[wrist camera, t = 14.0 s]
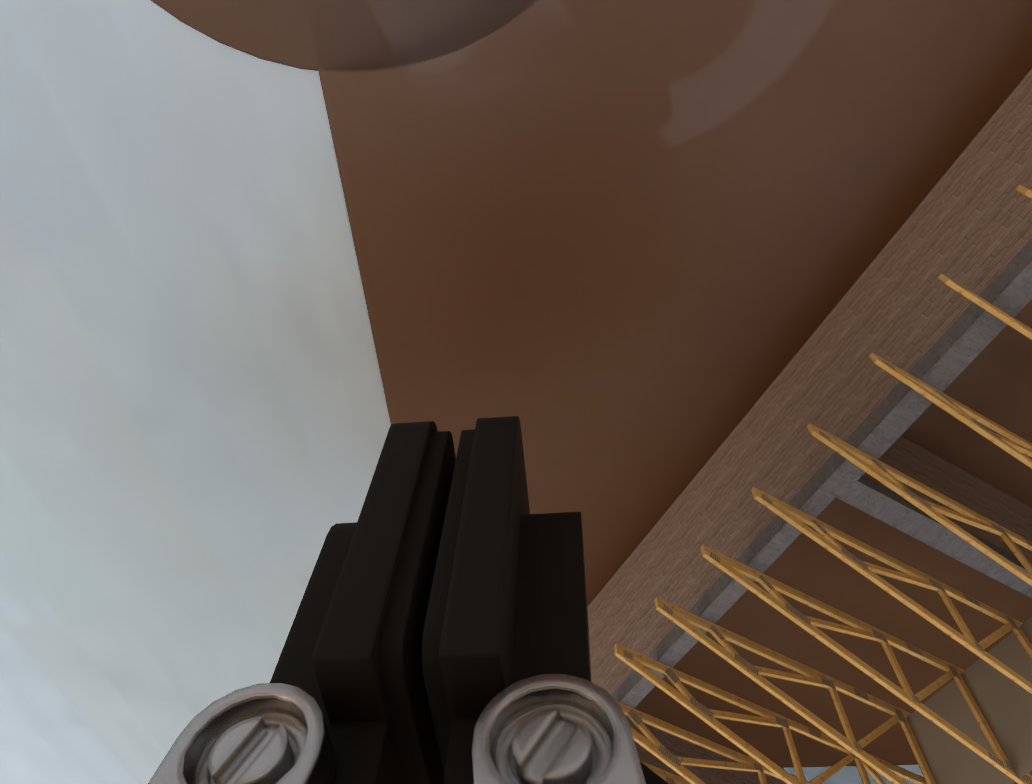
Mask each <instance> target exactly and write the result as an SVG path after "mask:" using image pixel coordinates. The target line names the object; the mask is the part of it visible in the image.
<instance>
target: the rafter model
mask: <svg viewBox="0 0 1032 784" xmlns="http://www.w3.org/2000/svg"><path fill="white" fill-rule="evenodd" d="M1031 299H1032V69H1031V70H1030V71H1029V73H1028V74H1027V75H1026V76H1025V77H1024V79H1023V80H1022V81H1021V82H1020V83H1019V85H1018V86H1017V87H1016V88H1015V90H1014V91H1013V92H1012V93H1011V94H1010V96H1009V97H1008V98H1007V99H1006V100H1005V102H1004V103H1003V104H1002V105H1001V106H1000V108H999V109H998V110H997V111H996V113H995V114H994V115H993V116H992V117H991V119H990V120H989V121H988V122H987V123H986V125H985V126H984V127H983V128H982V130H981V131H980V132H979V133H978V134H977V136H976V137H975V138H974V139H973V140H972V142H971V143H970V144H969V145H968V146H967V148H966V149H965V150H964V151H963V153H962V154H961V155H960V156H959V157H958V159H957V160H956V161H955V162H954V163H953V165H952V166H951V167H950V168H949V170H948V171H947V172H946V173H945V174H944V176H943V177H942V178H941V179H940V180H939V182H938V183H937V184H936V185H935V186H934V188H933V189H932V190H931V191H930V193H929V194H928V195H927V196H926V197H925V199H924V200H923V201H922V202H921V203H920V205H919V206H918V207H917V208H916V209H915V211H914V212H913V213H912V214H911V216H910V217H909V218H908V219H907V220H906V222H905V223H904V224H903V225H902V226H901V228H900V229H899V230H898V231H897V233H896V234H895V235H894V236H893V237H892V239H891V240H890V241H889V242H888V243H887V245H886V246H885V247H884V248H883V249H882V251H881V252H880V253H879V254H878V256H877V257H876V258H875V259H874V260H873V262H872V263H871V264H870V265H869V266H868V268H867V269H866V270H865V271H864V273H863V274H862V275H861V276H860V277H859V279H858V280H857V281H856V282H855V283H854V285H853V286H852V287H851V288H850V289H849V291H848V292H847V293H846V294H845V296H844V297H843V298H842V299H841V300H840V302H839V303H838V304H837V305H836V306H835V308H834V309H833V310H832V311H831V312H830V314H829V315H828V316H827V317H826V319H825V320H824V321H823V322H822V323H821V325H820V326H819V327H818V328H817V329H816V331H815V332H814V333H813V334H812V336H811V337H810V338H809V339H808V340H807V342H806V343H805V344H804V345H803V346H802V348H801V349H800V350H799V351H798V352H797V354H796V355H795V356H794V357H793V359H792V360H791V361H790V362H789V363H788V365H787V366H786V367H785V368H784V369H783V371H782V372H781V373H780V374H779V376H778V377H777V378H776V379H775V380H774V382H773V383H772V384H771V385H770V386H769V388H768V389H767V390H766V391H765V392H764V394H763V395H762V396H761V397H760V399H759V400H758V401H757V402H756V403H755V405H754V406H753V407H752V408H751V409H750V411H749V412H748V413H747V414H746V416H745V417H744V418H743V419H742V420H741V422H740V423H739V424H738V425H737V426H736V428H735V429H734V430H733V431H732V432H731V434H730V435H729V436H728V437H727V439H726V440H725V441H724V442H723V443H722V445H721V446H720V447H719V448H718V449H717V451H716V452H715V453H714V454H713V455H712V457H711V458H710V459H709V460H708V462H707V463H706V464H705V465H704V466H703V468H702V469H701V470H700V471H699V472H698V474H697V475H696V476H695V477H694V479H693V480H692V481H691V482H690V483H689V485H688V486H687V487H686V488H685V489H684V491H683V492H682V493H681V494H680V495H679V497H678V498H677V499H676V500H675V502H674V503H673V504H672V505H671V506H670V508H669V509H668V510H667V511H666V512H665V514H664V515H663V516H662V517H661V519H660V520H659V521H658V522H657V523H656V525H655V526H654V527H653V528H652V529H651V531H650V532H649V533H648V534H647V535H646V537H645V538H644V539H643V540H642V542H641V543H640V544H639V545H638V546H637V548H636V549H635V550H634V551H633V552H632V554H631V555H630V556H629V557H628V558H627V560H626V561H625V562H624V563H623V565H622V566H621V567H620V568H619V569H618V571H617V572H616V573H615V574H614V575H613V577H612V578H611V579H610V580H609V582H608V583H607V584H606V585H605V586H604V588H603V589H602V590H601V591H600V592H599V594H598V595H597V596H596V597H595V598H594V600H593V601H592V602H591V603H590V605H589V606H588V607H587V608H588V626H589V645H590V664H591V682H592V683H594V684H596V685H598V686H599V687H601V688H603V689H605V690H606V691H607V692H608V693H609V694H610V695H611V696H612V697H613V698H614V699H615V700H616V701H617V702H618V703H619V704H620V706H621V708H622V710H623V712H624V714H625V716H626V718H627V720H628V722H629V724H630V728H631V731H632V735H633V738H634V742H635V746H636V749H637V753H638V757H639V760H640V761H641V762H642V763H643V764H644V765H646V766H647V767H648V768H650V769H651V770H652V771H653V772H655V773H656V774H657V775H658V776H660V777H661V778H662V779H663V780H665V781H666V782H667V783H668V784H820V783H822V782H823V781H824V780H826V779H827V778H829V777H830V776H832V775H833V774H834V773H836V772H837V771H839V770H840V769H841V768H843V767H844V766H846V765H847V764H849V763H850V762H851V761H853V760H855V762H856V765H857V768H858V770H859V773H860V776H861V778H862V781H863V784H871V783H870V781H869V778H868V776H867V773H866V770H867V772H868V773H869V774H870V775H871V776H872V777H873V778H874V780H875V781H876V782H877V783H878V784H886V783H885V782H884V781H883V780H882V779H881V777H880V776H879V775H878V774H877V773H876V772H875V771H874V770H876V771H877V772H879V773H880V774H881V775H883V776H884V777H885V778H887V779H888V780H889V781H891V782H892V783H894V784H909V783H907V782H906V781H905V780H903V779H902V778H901V777H903V778H905V779H907V780H909V781H912V782H914V783H916V784H1032V617H1030V618H1029V619H1028V620H1027V621H1025V622H1024V623H1022V622H1020V621H1018V620H1016V619H1014V618H1012V617H1010V616H1008V615H1006V614H1004V613H1002V612H1000V611H998V610H996V609H994V608H992V607H990V606H988V605H986V604H984V603H982V602H980V601H978V600H976V599H974V598H972V597H970V596H968V595H966V594H964V593H962V592H960V591H958V590H956V589H954V588H952V587H950V586H948V585H946V584H944V583H943V582H941V581H939V580H937V579H935V578H933V577H931V576H929V575H927V574H925V573H923V572H921V571H919V570H917V569H915V568H913V567H911V566H909V565H907V564H905V563H903V562H901V561H899V560H897V559H895V558H893V557H891V556H889V555H887V554H885V553H883V552H881V551H879V550H877V549H875V548H873V547H871V546H869V545H867V544H865V543H863V542H861V541H860V540H858V539H856V538H854V537H852V536H850V535H848V534H846V533H844V532H842V531H840V530H838V529H836V528H834V527H832V526H830V525H828V524H826V523H824V522H822V521H820V520H818V519H816V517H817V516H818V515H819V514H820V513H821V512H822V511H823V510H824V509H825V508H826V507H827V506H828V505H829V503H830V502H831V501H832V500H833V499H834V498H835V497H836V498H838V499H840V500H842V501H844V502H846V503H848V504H850V505H852V506H854V507H856V508H858V509H860V510H862V511H863V512H865V513H867V514H869V515H871V516H873V517H875V518H877V519H879V520H881V521H883V522H885V523H887V524H889V525H891V526H893V527H894V528H896V529H898V530H900V531H902V532H904V533H906V534H908V535H910V536H912V537H914V538H916V539H918V540H920V541H922V542H924V543H925V544H927V545H929V546H931V547H933V548H935V549H937V550H939V551H941V552H943V553H945V554H947V555H949V556H951V557H953V558H954V559H956V560H958V561H960V562H962V563H964V564H966V565H968V566H970V567H972V568H974V569H976V570H978V571H980V572H982V573H984V574H985V575H987V576H989V577H991V578H993V579H995V580H997V581H999V582H1001V583H1003V584H1005V585H1007V586H1009V587H1011V588H1013V589H1015V590H1016V591H1018V592H1020V593H1022V594H1024V595H1026V596H1028V597H1030V598H1032V507H1030V506H1028V505H1026V504H1025V503H1023V502H1021V501H1019V500H1017V499H1015V498H1014V497H1012V496H1010V495H1008V494H1006V493H1004V492H1003V491H1001V490H999V489H997V488H995V487H994V486H992V485H990V484H988V483H986V482H984V481H983V480H981V479H979V478H977V477H975V476H973V475H972V474H970V473H968V472H966V471H964V470H962V469H961V468H959V467H957V466H955V465H953V464H952V463H950V462H948V461H946V460H944V459H942V458H941V457H939V456H937V455H935V454H933V453H931V452H930V451H928V450H926V449H924V448H922V447H921V446H919V445H917V444H915V443H913V442H911V441H910V440H908V439H906V438H904V437H902V436H901V435H902V434H903V433H904V432H905V431H906V430H907V429H908V428H909V426H910V425H911V424H912V423H913V422H914V421H915V420H916V419H917V418H918V417H919V416H920V415H921V414H922V413H923V412H924V411H925V410H926V409H927V408H928V407H929V406H930V405H931V404H932V402H933V403H934V404H936V405H937V406H939V407H940V408H942V409H943V410H945V411H946V412H948V413H949V414H951V415H952V416H954V417H955V418H957V419H958V420H960V421H961V422H963V423H964V424H966V425H967V426H969V427H970V428H972V429H973V430H975V431H976V432H978V433H979V434H981V435H982V436H984V437H985V438H987V439H988V440H990V441H991V442H993V443H994V444H996V445H997V446H999V447H1000V448H1002V449H1003V450H1005V451H1006V452H1008V453H1009V454H1011V455H1012V456H1014V457H1015V458H1017V459H1018V460H1020V461H1021V462H1023V463H1024V464H1026V465H1027V466H1029V467H1030V468H1032V460H1031V459H1030V458H1028V457H1027V456H1030V457H1032V443H1030V442H1028V441H1027V440H1025V439H1023V438H1021V437H1020V436H1018V435H1016V434H1014V433H1013V432H1011V431H1009V430H1007V429H1005V428H1004V427H1002V426H1000V425H998V424H997V423H995V422H993V421H991V420H990V419H988V418H986V417H984V416H983V415H981V414H979V413H977V412H976V411H974V410H972V409H970V408H969V407H967V406H965V405H963V404H962V403H960V402H958V401H956V400H955V399H953V398H951V397H949V396H948V395H946V394H944V393H942V392H943V391H944V390H945V389H946V388H947V387H948V386H949V385H950V384H951V383H952V382H953V381H954V380H955V379H956V377H957V376H958V375H959V374H960V373H961V372H962V371H963V370H964V369H965V368H966V367H967V366H968V365H969V364H970V363H971V362H972V361H973V360H974V359H975V358H976V357H977V356H978V355H979V354H980V352H981V351H982V350H983V349H984V348H985V347H986V346H987V345H988V344H989V343H990V342H991V341H992V340H993V339H994V338H995V337H996V336H997V335H998V334H999V333H1000V332H1001V331H1002V330H1003V329H1004V327H1005V326H1006V325H1007V324H1008V325H1009V326H1011V327H1012V328H1014V329H1016V330H1017V331H1019V332H1020V333H1022V334H1023V335H1025V336H1026V337H1028V338H1029V339H1031V340H1032V328H1030V327H1029V326H1027V325H1025V324H1024V323H1022V322H1020V321H1019V320H1017V319H1015V318H1014V317H1015V316H1016V315H1017V314H1018V313H1019V312H1020V311H1021V310H1022V309H1023V308H1024V307H1025V306H1026V305H1027V303H1028V302H1029V301H1030V300H1031ZM977 421H978V422H977ZM979 422H980V423H981V424H980V423H979ZM982 424H983V425H985V426H987V427H988V428H990V429H992V430H994V431H996V432H997V433H999V434H1001V435H1003V436H1004V437H1003V436H1000V435H998V434H996V433H994V432H992V431H991V430H989V429H988V428H986V427H985V426H983V425H982ZM1005 437H1006V438H1005ZM1007 438H1008V439H1007ZM1009 439H1010V440H1009ZM1022 453H1023V454H1022ZM1024 454H1025V455H1027V456H1025V455H1024ZM808 525H810V526H811V527H812V528H813V529H814V530H815V531H816V532H815V531H814V530H812V529H811V528H810V527H808ZM801 533H804V534H805V535H807V536H808V537H810V538H811V539H812V540H814V541H815V542H817V543H818V544H820V545H821V546H822V547H824V548H825V549H827V550H828V551H829V552H831V553H832V554H834V555H835V556H837V557H838V558H839V559H841V560H842V561H844V562H845V563H846V564H848V565H849V566H851V567H852V568H854V569H855V570H856V571H858V572H859V573H861V574H862V575H864V576H865V577H866V578H868V579H869V580H871V581H872V582H873V583H875V584H876V585H878V586H879V587H881V588H882V589H883V590H885V591H886V592H888V593H889V594H890V595H892V596H893V597H895V598H896V599H898V600H899V601H900V602H902V603H903V604H905V605H906V606H908V607H909V608H910V609H912V610H913V611H915V612H916V613H917V614H919V615H920V616H922V617H923V618H925V619H926V620H927V621H929V622H930V623H932V624H933V625H935V626H936V627H937V628H939V629H940V630H942V631H943V632H944V633H946V634H947V635H949V636H950V637H952V638H953V639H954V640H956V641H957V642H959V643H960V644H961V645H963V646H964V647H966V648H967V649H969V650H970V651H971V652H973V653H974V654H976V655H977V656H979V657H980V659H978V660H977V661H976V662H975V663H974V664H972V665H971V666H970V667H969V668H967V669H966V670H963V669H961V668H959V667H957V666H955V665H952V664H950V663H948V662H946V661H944V660H942V659H940V658H938V657H936V656H934V655H932V654H930V653H927V652H925V651H923V650H921V649H919V648H917V647H915V646H913V645H911V644H909V643H907V642H905V641H902V640H900V639H898V638H896V637H894V636H892V635H890V634H888V633H886V632H884V631H882V630H880V629H877V628H875V627H873V626H871V625H869V624H867V623H865V622H863V621H861V620H859V619H857V618H854V617H852V616H850V615H848V614H846V613H844V612H842V611H840V610H838V609H836V608H834V607H832V606H829V605H827V604H825V603H823V602H821V601H819V600H817V599H815V598H813V597H811V596H809V595H807V594H804V593H802V592H800V591H798V590H796V589H794V588H792V587H790V586H788V585H786V584H784V583H782V582H779V581H777V580H775V579H773V578H771V577H769V576H767V575H765V574H763V573H764V572H765V571H766V569H767V568H768V567H769V566H770V565H771V564H772V563H773V562H774V561H775V560H776V559H777V558H778V557H779V556H780V555H781V554H782V553H783V552H784V551H785V550H786V549H787V547H788V546H789V545H790V544H791V543H792V542H793V541H794V540H795V539H796V538H797V537H798V536H799V535H800V534H801ZM833 537H834V538H836V539H838V540H840V541H842V542H844V543H845V544H847V545H849V546H851V547H853V548H855V549H857V550H859V551H861V552H863V553H865V554H867V555H869V556H871V557H873V558H875V559H877V560H879V561H881V562H883V563H885V564H887V565H889V566H891V567H893V568H895V569H897V570H899V571H901V572H903V573H900V572H897V571H894V570H891V569H887V568H884V567H881V566H878V565H874V564H871V563H868V562H865V561H861V560H860V559H858V558H857V557H856V556H854V555H853V554H851V553H850V552H848V551H847V550H846V549H845V548H844V547H843V546H842V545H841V544H839V543H838V542H837V541H836V540H835V539H834V538H833ZM874 572H875V573H878V574H881V575H885V576H888V577H891V578H894V579H898V580H901V581H904V582H908V583H911V584H914V585H918V586H921V587H924V588H928V589H931V590H933V591H935V592H937V593H939V595H940V596H941V598H942V600H943V601H944V603H945V605H946V606H947V608H948V610H949V611H950V613H951V615H952V616H953V618H954V620H955V621H956V623H957V625H958V626H959V628H960V630H961V631H962V633H963V635H964V636H963V635H962V634H960V633H959V632H958V631H956V630H955V629H953V628H952V627H950V626H949V625H948V624H946V623H945V622H943V621H942V620H941V619H939V618H938V617H936V616H935V615H933V614H932V613H931V612H929V611H928V610H926V609H925V608H923V607H922V606H921V605H919V604H918V603H916V602H915V601H913V600H912V599H911V598H909V597H908V596H906V595H905V594H904V593H902V592H901V591H899V590H898V589H896V588H895V587H894V586H892V585H891V584H889V583H888V582H886V581H885V580H884V579H882V578H881V577H879V576H878V575H876V574H875V573H874ZM904 573H905V574H904ZM755 581H757V582H758V583H759V584H760V585H761V586H762V587H763V588H764V589H765V590H766V591H767V592H769V593H770V594H771V595H770V594H769V593H767V592H766V591H765V590H763V589H762V588H760V587H759V586H758V585H756V584H755V583H754V582H755ZM747 589H749V590H750V591H751V592H753V593H754V594H756V595H757V596H758V597H760V598H761V599H763V600H764V601H765V602H767V603H768V604H769V605H771V606H772V607H774V608H775V609H776V610H778V611H779V612H781V613H782V614H783V615H785V616H786V617H788V618H789V619H790V620H792V621H793V622H794V623H796V624H797V625H799V626H800V627H801V628H803V629H804V630H806V631H807V632H808V633H810V634H811V635H813V636H814V637H815V638H817V639H818V640H819V641H821V642H822V643H824V644H825V645H826V646H828V647H829V648H831V649H832V650H833V651H835V652H836V653H838V654H839V655H840V656H842V657H843V658H845V659H846V660H847V661H849V662H850V663H851V664H853V665H854V666H856V667H857V668H858V669H860V670H861V671H863V672H864V673H865V674H867V675H868V676H870V677H871V678H872V679H874V680H875V681H876V682H878V683H879V684H881V685H882V686H883V687H885V688H886V689H888V690H889V691H890V692H892V693H893V694H895V695H896V696H897V697H899V698H900V699H901V700H903V701H904V702H906V703H907V704H908V705H910V706H911V707H913V708H914V709H915V711H914V712H913V713H912V714H911V713H909V712H907V711H904V710H902V709H900V708H898V707H896V706H893V705H891V704H889V703H887V702H885V701H883V700H880V699H878V698H876V697H874V696H872V695H869V694H867V693H865V692H863V691H861V690H858V689H856V688H854V687H852V686H850V685H847V684H845V683H843V682H841V681H839V680H837V679H834V678H832V677H830V676H828V675H826V674H823V673H821V672H819V671H817V670H815V669H812V668H810V667H808V666H806V665H804V664H801V663H799V662H797V661H795V660H793V659H791V658H788V657H786V656H784V655H782V654H780V653H777V652H775V651H773V650H771V649H769V648H766V647H764V646H762V645H760V644H758V643H755V642H753V641H751V640H749V639H747V638H745V637H742V636H740V635H738V634H736V633H734V632H731V631H729V630H727V629H725V628H723V627H720V626H718V625H716V624H715V623H716V622H717V621H718V620H719V619H720V618H721V617H722V616H723V615H724V613H725V612H726V611H727V610H728V609H729V608H730V607H731V606H732V605H733V604H734V603H735V602H736V601H737V600H738V599H739V598H740V597H741V596H742V595H743V594H744V593H745V591H746V590H747ZM777 591H778V592H780V593H783V594H785V595H787V596H789V597H791V598H793V599H795V600H797V601H799V602H801V603H804V604H806V605H808V606H810V607H812V608H814V609H816V610H818V611H820V612H822V613H825V614H827V615H829V616H831V617H833V618H835V619H837V620H839V621H841V622H843V623H846V624H848V625H850V626H852V627H854V628H852V627H848V626H845V625H841V624H837V623H833V622H829V621H825V620H821V619H817V618H813V617H809V616H805V615H803V614H802V613H800V612H799V611H798V610H796V609H795V608H793V607H792V606H791V605H790V604H789V603H788V602H787V601H786V600H785V599H784V598H783V597H782V596H781V595H780V594H779V593H778V592H777ZM948 595H949V596H951V597H953V598H955V599H957V600H959V601H961V602H963V603H965V604H967V605H969V606H971V607H973V608H975V609H977V610H979V611H981V612H983V613H985V614H987V615H989V616H991V617H993V618H995V619H997V620H999V621H1001V622H1003V623H1005V625H1004V626H1002V627H1001V628H999V629H998V630H996V631H995V632H993V633H992V634H990V635H989V636H988V637H986V638H985V639H983V640H982V641H980V642H979V643H977V642H976V640H975V639H974V637H973V635H972V634H971V632H970V630H969V629H968V627H967V625H966V624H965V622H964V621H963V619H962V617H961V616H960V614H959V612H958V611H957V609H956V607H955V606H954V604H953V603H952V601H951V599H950V598H949V596H948ZM815 626H817V627H821V628H825V629H829V630H833V631H838V632H842V633H846V634H850V635H854V636H858V637H862V638H866V639H870V640H874V641H876V642H879V643H881V644H882V646H883V648H884V650H885V653H886V655H887V657H888V659H889V661H890V663H891V665H892V667H893V669H894V672H895V674H896V676H897V678H898V680H899V682H900V684H901V686H902V689H903V690H902V689H901V688H900V687H898V686H897V685H895V684H894V683H893V682H891V681H890V680H889V679H887V678H886V677H884V676H883V675H882V674H880V673H879V672H877V671H876V670H875V669H873V668H872V667H870V666H869V665H868V664H866V663H865V662H863V661H862V660H861V659H859V658H858V657H856V656H855V655H854V654H852V653H851V652H850V651H848V650H847V649H845V648H844V647H843V646H841V645H840V644H838V643H837V642H836V641H834V640H833V639H831V638H830V637H829V636H827V635H826V634H824V633H823V632H822V631H820V630H819V629H817V628H816V627H815ZM707 631H708V632H709V633H710V634H711V635H712V636H713V637H714V638H715V639H716V640H717V642H718V643H720V644H721V645H722V646H723V647H724V648H723V647H722V646H720V645H719V644H717V643H716V642H715V641H713V640H712V639H711V638H709V637H708V636H706V635H705V633H706V632H707ZM1009 631H1012V633H1011V634H1009V635H1008V636H1007V637H1006V638H1004V639H1003V640H1002V641H1001V642H999V643H998V644H997V645H996V646H995V647H993V648H992V649H991V650H990V651H988V652H986V651H985V650H984V649H985V648H987V647H988V646H989V645H991V644H992V643H994V642H995V641H996V640H998V639H999V638H1001V637H1002V636H1003V635H1005V634H1006V633H1008V632H1009ZM726 640H727V641H730V642H732V643H734V644H736V645H739V646H741V647H743V648H745V649H747V650H750V651H752V652H754V653H756V654H758V655H761V656H763V657H765V658H767V659H769V660H772V661H774V662H776V663H778V664H780V665H783V666H785V667H787V668H789V669H791V670H794V671H796V672H798V673H800V674H803V675H805V676H802V675H797V674H792V673H788V672H783V671H778V670H773V669H768V668H763V667H759V666H754V665H752V664H750V663H749V662H748V661H746V660H745V659H744V658H742V657H741V656H740V655H739V654H738V653H737V652H736V651H735V650H734V648H733V647H732V646H731V645H730V644H729V643H728V642H727V641H726ZM698 641H700V642H701V643H703V644H704V645H705V646H707V647H708V648H710V649H711V650H712V651H714V652H715V653H716V654H718V655H719V656H720V657H722V658H723V659H725V660H726V661H727V662H729V663H730V664H731V665H733V666H734V667H735V668H737V669H738V670H739V671H741V672H742V673H744V674H745V675H746V676H748V677H749V678H750V679H752V680H753V681H754V682H756V683H757V684H759V685H760V686H761V687H763V688H764V689H765V690H767V691H768V692H769V693H771V694H772V695H774V696H775V697H776V698H778V699H779V700H780V701H782V702H783V703H784V704H786V705H787V706H789V707H790V708H791V709H793V710H794V711H795V712H797V713H798V714H799V715H801V716H802V717H804V718H805V719H806V720H808V721H809V722H810V723H812V724H813V725H814V726H816V727H817V728H819V729H820V730H821V731H823V732H824V733H825V734H827V735H828V736H827V735H825V734H823V733H820V732H818V731H816V730H814V729H811V728H809V727H807V726H804V725H802V724H800V723H798V722H795V721H793V720H791V719H788V718H786V717H784V716H782V715H779V714H777V713H775V712H772V711H770V710H768V709H766V708H763V707H761V706H759V705H756V704H754V703H752V702H749V701H747V700H745V699H743V698H740V697H738V696H736V695H733V694H731V693H729V692H727V691H724V690H722V689H720V688H717V687H715V686H713V685H711V684H708V683H706V682H704V681H701V680H699V679H697V678H695V677H692V676H690V675H688V674H685V673H683V672H681V671H679V670H676V669H674V668H673V667H674V666H675V665H676V664H677V663H678V662H679V661H680V660H681V659H682V657H683V656H684V655H685V654H686V653H687V652H688V651H689V650H690V649H691V648H692V647H693V646H694V645H695V644H696V643H697V642H698ZM889 644H890V645H892V646H894V647H896V648H898V649H900V650H902V651H904V652H906V653H909V654H911V655H913V656H915V657H917V658H919V659H921V660H923V661H925V662H927V663H930V664H932V665H934V666H936V667H938V668H940V669H942V670H944V671H946V672H947V673H945V674H944V675H942V676H941V677H940V678H938V679H937V680H935V681H934V682H932V683H931V684H930V685H928V686H927V687H925V688H924V689H923V690H921V691H920V692H918V693H917V694H915V695H914V694H913V692H912V690H911V688H910V686H909V684H908V682H907V680H906V678H905V676H904V674H903V671H902V669H901V667H900V665H899V663H898V661H897V659H896V657H895V655H894V653H893V651H892V649H891V647H890V645H889ZM761 675H764V676H769V677H774V678H779V679H784V680H789V681H794V682H799V683H804V684H809V685H814V686H819V687H823V688H826V689H828V690H829V691H830V694H831V696H832V699H833V702H834V705H835V707H836V710H837V713H838V715H839V718H840V721H841V723H842V726H843V729H844V731H845V734H846V737H847V738H846V737H844V736H843V735H842V734H840V733H839V732H838V731H836V730H835V729H834V728H832V727H831V726H829V725H828V724H827V723H825V722H824V721H823V720H821V719H820V718H819V717H817V716H816V715H814V714H813V713H812V712H810V711H809V710H808V709H806V708H805V707H803V706H802V705H801V704H799V703H798V702H797V701H795V700H794V699H793V698H791V697H790V696H788V695H787V694H786V693H784V692H783V691H782V690H780V689H779V688H778V687H776V686H775V685H773V684H772V683H771V682H769V681H768V680H767V679H765V678H764V677H763V676H761ZM664 676H665V678H666V679H667V680H668V681H669V682H670V683H671V684H672V686H674V685H675V687H676V688H677V689H678V690H679V691H680V692H681V693H680V692H679V691H677V690H676V689H675V688H673V687H672V686H671V685H669V684H668V683H667V682H665V681H664V680H662V678H663V677H664ZM950 679H953V681H951V682H950V683H949V684H948V685H946V686H945V687H944V688H943V689H941V690H940V691H939V692H938V693H936V694H935V695H934V696H933V697H931V698H930V699H929V700H928V701H927V702H925V703H924V704H922V703H921V702H920V701H921V700H923V699H924V698H925V697H927V696H928V695H929V694H931V693H932V692H933V691H935V690H936V689H938V688H939V687H940V686H942V685H943V684H944V683H946V682H947V681H948V680H950ZM680 681H681V682H684V683H686V684H688V685H690V686H693V687H695V688H697V689H700V690H702V691H704V692H707V693H709V694H711V695H714V696H716V697H718V698H720V699H723V700H725V701H727V702H730V703H732V704H734V705H737V706H739V707H741V708H744V709H746V710H748V711H750V712H753V713H755V714H757V715H760V716H762V717H758V716H751V715H745V714H738V713H732V712H725V711H719V710H712V709H708V708H706V707H705V706H703V705H702V704H701V703H699V702H698V701H697V700H696V699H695V698H694V697H693V696H692V695H691V694H690V693H689V691H688V690H687V689H686V688H685V687H684V686H683V685H682V683H681V682H680ZM655 686H657V687H658V688H660V689H661V690H662V691H664V692H665V693H667V694H668V695H669V696H671V697H672V698H673V699H675V700H676V701H677V702H679V703H680V704H681V705H683V706H684V707H685V708H687V709H688V710H689V711H691V712H692V713H693V714H695V715H696V716H697V717H699V718H700V719H701V720H703V721H704V722H705V723H707V724H708V725H709V726H711V727H712V728H713V729H715V730H716V731H717V732H719V733H720V734H721V735H723V736H724V737H725V738H727V739H728V740H730V741H731V742H732V743H734V744H735V745H736V746H738V747H739V748H740V749H742V750H743V751H744V752H746V753H747V754H748V755H750V756H751V757H752V758H751V757H748V756H746V755H743V754H741V753H739V752H736V751H734V750H732V749H729V748H727V747H724V746H722V745H720V744H717V743H715V742H712V741H710V740H708V739H705V738H703V737H701V736H698V735H696V734H693V733H691V732H689V731H686V730H684V729H681V728H679V727H677V726H674V725H672V724H670V723H667V722H665V721H662V720H660V719H658V718H655V717H653V716H650V715H648V714H646V713H643V712H641V711H638V710H636V709H634V708H635V707H636V706H637V705H638V704H639V703H640V701H641V700H642V699H643V698H644V697H645V696H646V695H647V694H648V693H649V692H650V691H651V690H652V689H653V688H654V687H655ZM837 690H838V691H840V692H842V693H844V694H847V695H849V696H851V697H853V698H855V699H858V700H860V701H862V702H864V703H867V704H869V705H871V706H873V707H875V708H878V709H880V710H882V711H884V712H886V713H889V714H891V715H893V717H892V718H890V719H889V720H887V721H886V722H885V723H883V724H882V725H880V726H879V727H878V728H876V729H875V730H874V731H872V732H871V733H869V734H868V735H867V736H865V737H864V738H862V739H861V740H860V741H858V742H856V740H855V737H854V735H853V732H852V729H851V727H850V724H849V722H848V719H847V716H846V714H845V711H844V708H843V706H842V703H841V701H840V698H839V695H838V693H837ZM715 718H721V719H727V720H734V721H741V722H748V723H754V724H761V725H768V726H775V727H779V728H781V729H783V731H784V734H785V738H786V741H787V745H788V748H789V751H790V755H791V758H792V762H793V765H794V768H795V772H796V775H797V777H796V776H794V775H791V774H789V773H787V772H786V771H785V770H783V769H782V768H781V767H779V766H778V765H777V764H775V763H774V762H773V761H771V760H770V759H769V758H767V757H766V756H765V755H763V754H762V753H761V752H759V751H758V750H757V749H755V748H754V747H753V746H751V745H750V744H748V743H747V742H746V741H744V740H743V739H742V738H740V737H739V736H738V735H736V734H735V733H734V732H732V731H731V730H730V729H728V728H727V727H726V726H724V725H723V724H722V723H720V722H719V721H718V720H716V719H715ZM896 723H899V724H901V726H902V728H903V731H904V733H905V735H906V737H907V740H908V742H909V744H910V746H911V748H912V751H913V753H914V755H915V757H916V760H917V762H918V764H919V766H920V769H921V771H922V773H923V775H924V777H925V778H923V777H921V776H919V775H917V774H914V773H912V772H910V771H907V770H905V769H903V768H901V767H898V766H896V765H894V764H891V763H889V762H887V761H885V760H882V759H880V758H878V757H875V756H873V755H871V754H869V753H866V752H865V751H864V750H862V748H863V747H865V746H866V745H867V744H869V743H870V742H871V741H873V740H874V739H875V738H877V737H878V736H879V735H881V734H882V733H883V732H885V731H886V730H888V729H889V728H890V727H892V726H893V725H894V724H896ZM790 729H792V730H794V731H797V732H799V733H801V734H803V735H806V736H808V737H810V738H813V739H815V740H817V741H820V742H822V743H824V744H826V745H829V746H831V747H833V748H836V749H838V750H840V751H843V752H845V753H847V754H849V755H848V756H846V757H845V758H843V759H842V760H840V761H839V762H838V763H836V764H835V765H833V766H832V767H830V768H829V769H827V770H826V771H825V772H823V773H822V774H820V775H819V776H817V777H816V778H814V779H813V780H811V781H810V782H808V781H806V780H805V777H804V774H803V770H802V767H801V764H800V761H799V757H798V754H797V751H796V747H795V744H794V741H793V738H792V734H791V731H790ZM753 758H754V759H753ZM865 769H866V770H865ZM899 776H900V777H899Z"/></svg>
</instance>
